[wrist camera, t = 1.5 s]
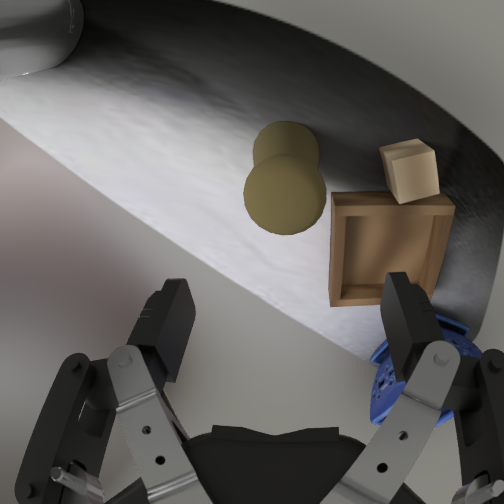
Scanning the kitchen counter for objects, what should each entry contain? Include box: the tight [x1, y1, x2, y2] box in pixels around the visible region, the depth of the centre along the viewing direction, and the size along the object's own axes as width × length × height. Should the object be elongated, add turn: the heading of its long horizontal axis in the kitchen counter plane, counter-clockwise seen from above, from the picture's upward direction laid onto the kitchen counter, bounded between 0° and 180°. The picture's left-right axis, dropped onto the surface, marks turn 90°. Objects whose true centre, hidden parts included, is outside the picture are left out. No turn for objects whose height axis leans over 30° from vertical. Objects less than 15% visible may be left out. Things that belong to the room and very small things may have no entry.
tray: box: [328, 192, 455, 307], centre depth 30 cm, size 12×12×3 cm
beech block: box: [379, 139, 440, 204], centre depth 24 cm, size 4×4×4 cm
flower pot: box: [370, 313, 483, 428], centre depth 34 cm, size 13×13×12 cm
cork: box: [243, 121, 326, 235], centre depth 22 cm, size 6×6×11 cm
